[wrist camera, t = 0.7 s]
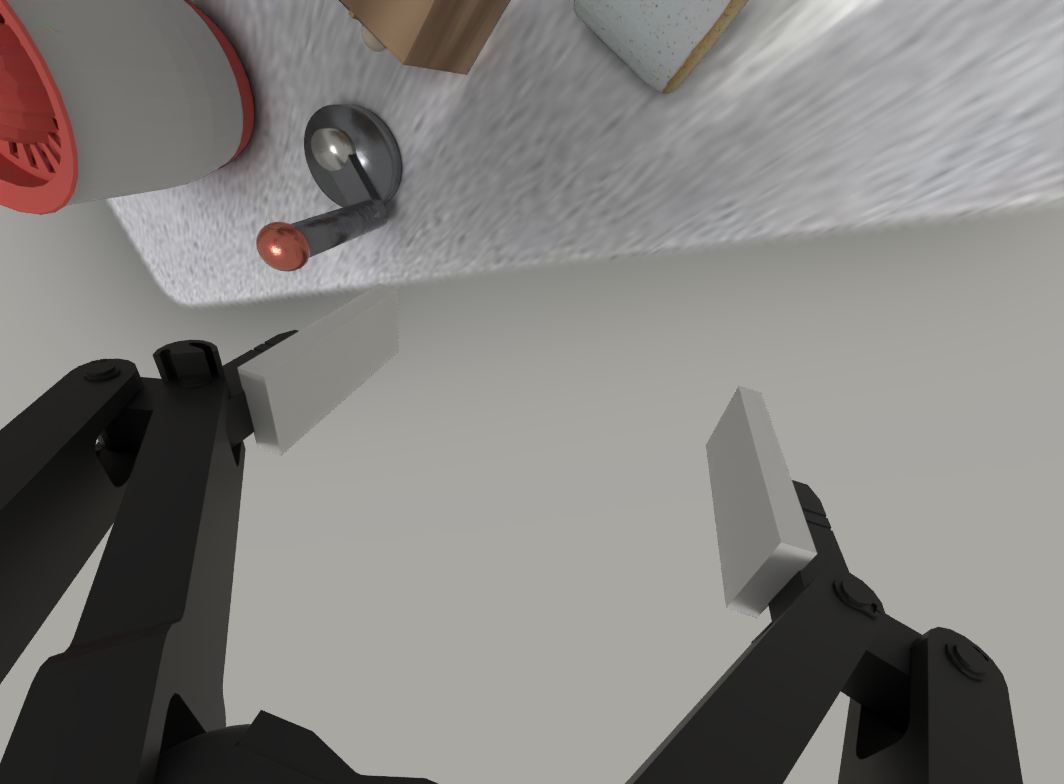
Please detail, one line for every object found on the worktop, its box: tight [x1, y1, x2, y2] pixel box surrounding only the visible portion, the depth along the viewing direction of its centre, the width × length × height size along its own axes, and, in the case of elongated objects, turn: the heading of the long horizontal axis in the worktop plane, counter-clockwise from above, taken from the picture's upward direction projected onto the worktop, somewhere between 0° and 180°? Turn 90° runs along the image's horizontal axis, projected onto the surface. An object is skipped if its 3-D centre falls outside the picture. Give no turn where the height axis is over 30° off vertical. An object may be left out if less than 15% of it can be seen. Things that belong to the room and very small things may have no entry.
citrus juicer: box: [0, 0, 254, 215], centre depth 30 cm, size 16×17×20 cm
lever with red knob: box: [256, 105, 401, 271], centre depth 33 cm, size 10×8×15 cm
